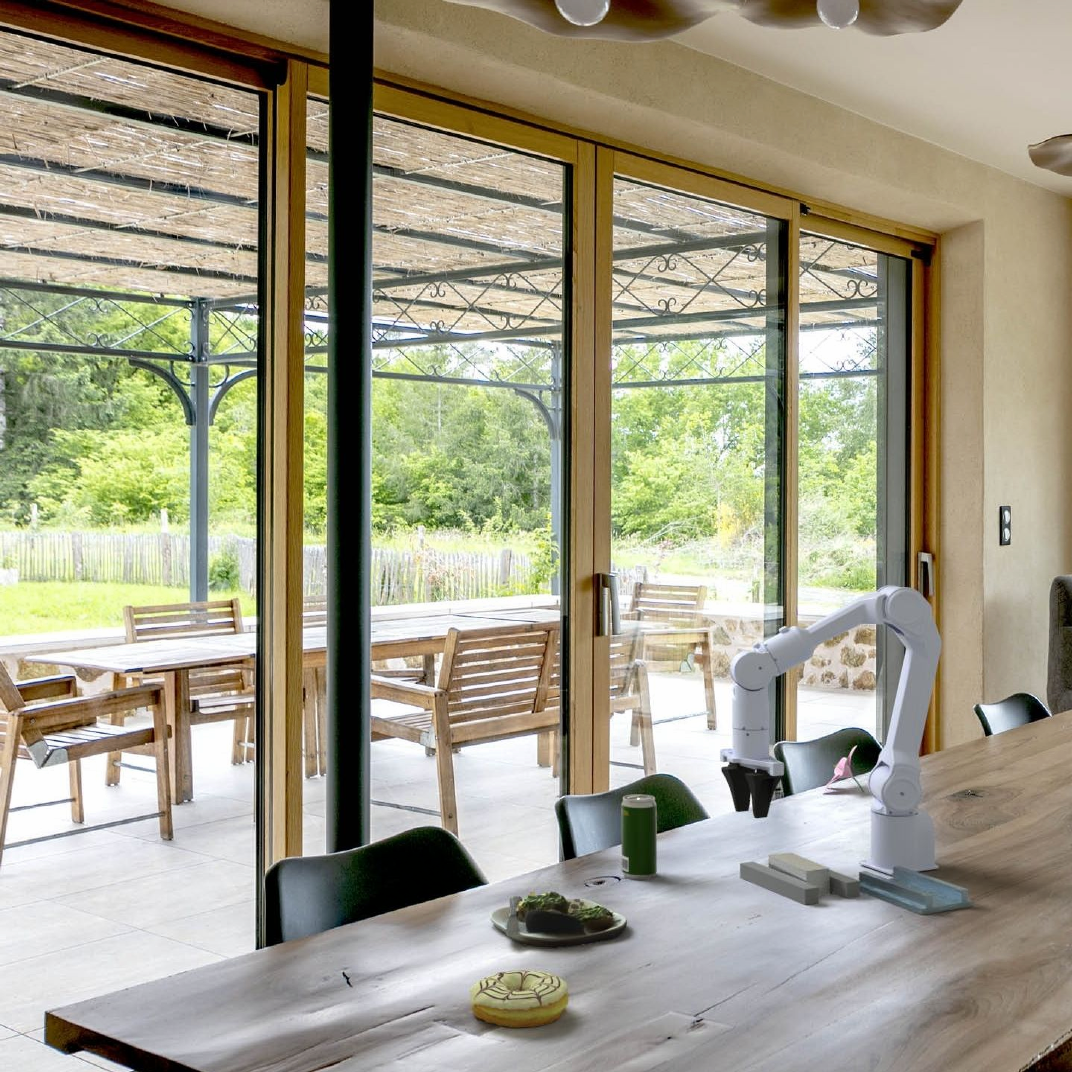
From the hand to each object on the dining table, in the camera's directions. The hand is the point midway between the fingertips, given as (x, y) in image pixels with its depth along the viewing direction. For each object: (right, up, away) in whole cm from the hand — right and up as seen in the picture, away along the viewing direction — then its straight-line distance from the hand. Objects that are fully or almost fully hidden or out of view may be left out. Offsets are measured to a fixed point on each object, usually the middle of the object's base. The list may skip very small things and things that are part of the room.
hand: (751, 814), depth 201 cm
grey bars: (+5, -8, -11) cm, 15 cm away
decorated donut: (-36, -9, -60) cm, 70 cm away
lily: (+28, -8, +59) cm, 66 cm away
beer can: (-18, -9, -4) cm, 20 cm away
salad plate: (-31, -9, -30) cm, 44 cm away
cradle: (+20, -8, -17) cm, 28 cm away
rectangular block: (+5, -9, -11) cm, 15 cm away
